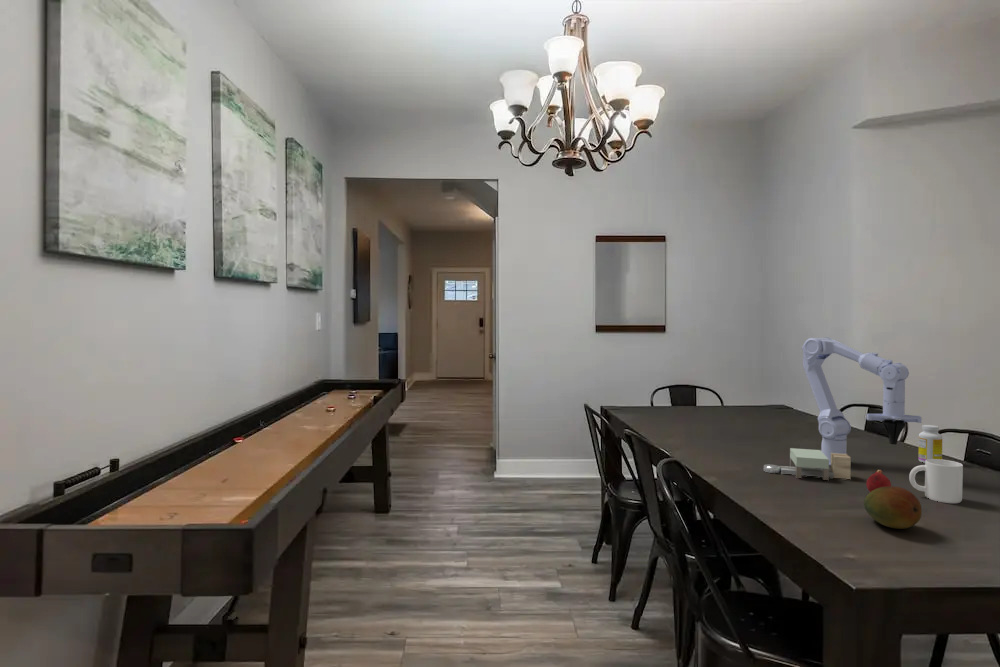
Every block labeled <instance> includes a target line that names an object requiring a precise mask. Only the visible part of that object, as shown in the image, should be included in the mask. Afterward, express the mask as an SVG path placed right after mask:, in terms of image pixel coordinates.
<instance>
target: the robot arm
mask: <svg viewBox="0 0 1000 667" xmlns="http://www.w3.org/2000/svg"><path fill="white" fill-rule="evenodd" d="M801 350H802V367H803V370H804V372H805V376H806V378H807V381H808V383H809V386H810V389H811V391H812V394H813V397H814V400H815V402H816V404H817V407H818V411H819V415H818V416H817V422H818V432H819V434H820V435H821V437H822V440H821V446H820V447H821V448H820V450H821V451H822V453H823V454H824V455H825V456H826V457H827V458H828V459H829V466H831V453H839V454H847V444H848V443H847V438H848V437H847V436H848V434H849V433H851V429H852V426H851V423H850V421H849V420H848V419H847V418H846V417H845V415H844V413H843V412H842V411H841V410H840V409H838V406H837V405H836V402H835V399H834V397H833V394H832V392H831V388H830V386H829V384H828V381H827V378H826V376H825V373H824V370H823V367H822V365H823V364H824V363H825V362H824V361H825V360H826V359H828V357H830V356H832V354H835V355H836V354H837V355H839V356H841V357H844V358H847V359H848V360H851V361H854V362H856V363H858V365H859V367H860V368H861V369H863V370H865V371H867V372H869V373H871V374H874V375H876V376H878V377H880V379H881V380H882V382H883V385H882V388H883V389H882V390H883V391H882V393H883V394H882V413H866V414H865V416H866V418H865V419H866V421H880V422H882V425H883V427H884V428H885V431H886V434H887V436H888V442H889V444H891V445H895V446H896V445H897V444H898V440H899V437H900V435H901V433H902V431H903V430H904V428H905V427H906V423H918V424H922V420H923V419H922V416H920V415H913V414H912V415H909V414H905V410H906V409H905V407H906V406H905V405H906V404H905V402H906V400H905V399H906V379H907V378H908V377H909V374H910V372H909V369H908V367H907V366H906V365H905V364H903V363H901V362H893V360H892V359H891V358H890V359H886V358H884V357H882V356H880V355H879V353H877V352H867V353H863V352H861V351H859V350H857V349H855V348H853V347H850V346H849V345H847V344H845V343H842V342H840V341H838V340H837V339H833V338H831V337H826V336H825V337H809V338H807V339H806V340H805V341H804V344H802V346H801Z"/></svg>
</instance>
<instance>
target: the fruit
mask: <svg viewBox="0 0 1000 667" xmlns="http://www.w3.org/2000/svg"><path fill="white" fill-rule="evenodd" d="M863 506H864V509H865V511H866V513H867V514H868V515H869V516H870V517H871V518H872V520H874V521H876V522H877V523H879V524H880V525H882V526H885V527H888V528H891V529H898V530H900V529H903V530H904V529H909V528H912V527H914V526H915V525H916V524H918V522H919V521H920V520H921V518H922V511H923V508H922V504H921V502H920V500H919V498H918V497H917V496H916V495H915V494H913V492H911V491H910V490H908V489H906V488H903V487H900V486H892V485H891V486H887V487H880V488H877V489H875V490H873V491H871V492H870V491H869V493H868V494H867V495H866V496H865V498H864V500H863Z"/></svg>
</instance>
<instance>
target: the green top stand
mask: <svg viewBox="0 0 1000 667" xmlns="http://www.w3.org/2000/svg"><path fill="white" fill-rule="evenodd" d="M789 467H796V476H795V479H796V478H801V479H802V476H801V469H802V468H816V469H823V478H822V480H828V481H827V482H829V480H830V478H829V469H830V465H829V459H828V458H827V457H826V456H825V455H824V454H823V453H822V451H821V449H810V448H808V449H807V448H794V447H790V448H789Z"/></svg>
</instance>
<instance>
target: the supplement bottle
mask: <svg viewBox="0 0 1000 667" xmlns="http://www.w3.org/2000/svg"><path fill="white" fill-rule="evenodd" d="M921 430H922V431H921V432H919V434H918V450H917V451H918V453H917V454H918V457H917V458H918V461H919V462H920V463H922V462H923V464H925V461H926V460H927V459H941V460H943V435H942V434H941V433H939V430H940V428H939V426H938V425H932V424H922V425H921Z"/></svg>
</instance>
